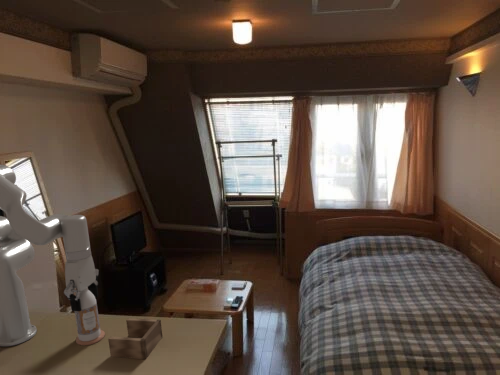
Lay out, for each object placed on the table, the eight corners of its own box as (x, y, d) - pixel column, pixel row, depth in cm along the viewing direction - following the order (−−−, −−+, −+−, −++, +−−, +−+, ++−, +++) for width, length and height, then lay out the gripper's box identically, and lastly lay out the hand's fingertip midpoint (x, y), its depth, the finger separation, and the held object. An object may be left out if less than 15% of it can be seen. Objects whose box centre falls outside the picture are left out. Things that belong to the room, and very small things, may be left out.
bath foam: (81, 344, 133) (72, 286, 130) (76, 335, 139) (68, 279, 135) (103, 337, 137) (95, 280, 133) (97, 328, 143) (90, 273, 139)
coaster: (70, 344, 135) (70, 343, 135) (86, 330, 144) (86, 328, 143) (95, 346, 133) (95, 344, 133) (110, 331, 142) (109, 329, 142)
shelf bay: (110, 356, 127) (108, 338, 126) (130, 334, 139) (127, 318, 138) (145, 359, 124) (143, 340, 123) (162, 336, 136) (160, 319, 135)
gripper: (83, 244, 142) (90, 291, 145) (50, 263, 125) (58, 316, 128) (103, 245, 140) (109, 292, 144) (72, 264, 124) (80, 317, 127)
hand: (85, 303), depth 136 cm, fingers open, 9 cm apart
